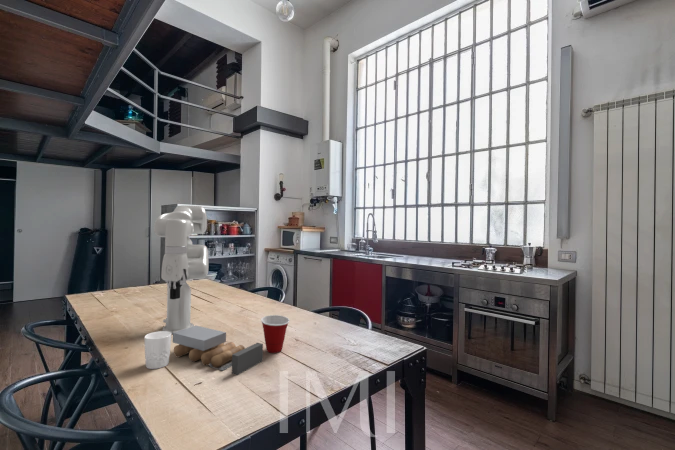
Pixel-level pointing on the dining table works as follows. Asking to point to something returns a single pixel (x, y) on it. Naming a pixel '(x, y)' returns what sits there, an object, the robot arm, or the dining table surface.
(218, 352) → the roller bed
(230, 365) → the grey flat plate
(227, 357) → the roller
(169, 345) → the white cup
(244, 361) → the block
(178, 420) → the dining table surface
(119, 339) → the dining table surface
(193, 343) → the slab
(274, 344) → the plastic cup
